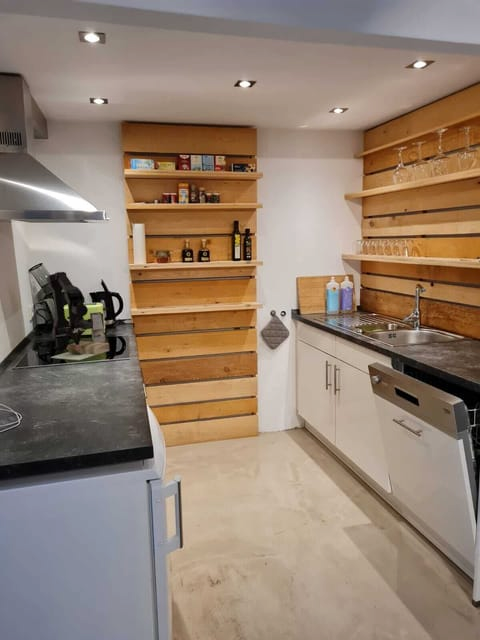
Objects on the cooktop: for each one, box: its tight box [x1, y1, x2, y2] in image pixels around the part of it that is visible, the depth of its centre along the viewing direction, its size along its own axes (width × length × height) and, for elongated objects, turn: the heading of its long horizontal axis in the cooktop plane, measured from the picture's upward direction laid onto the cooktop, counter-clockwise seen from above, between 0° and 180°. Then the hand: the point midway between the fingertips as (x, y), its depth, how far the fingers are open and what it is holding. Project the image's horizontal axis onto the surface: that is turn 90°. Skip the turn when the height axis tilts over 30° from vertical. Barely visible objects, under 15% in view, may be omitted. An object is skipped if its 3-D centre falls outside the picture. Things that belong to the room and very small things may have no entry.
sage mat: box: [50, 351, 96, 361], centre depth 239 cm, size 18×11×1 cm, turn 66°
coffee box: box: [89, 311, 106, 343], centre depth 277 cm, size 9×6×16 cm
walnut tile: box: [65, 343, 85, 355], centre depth 241 cm, size 7×5×2 cm
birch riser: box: [68, 340, 110, 356], centre depth 249 cm, size 18×10×4 cm, turn 66°
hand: (77, 345), depth 242 cm, fingers closed
